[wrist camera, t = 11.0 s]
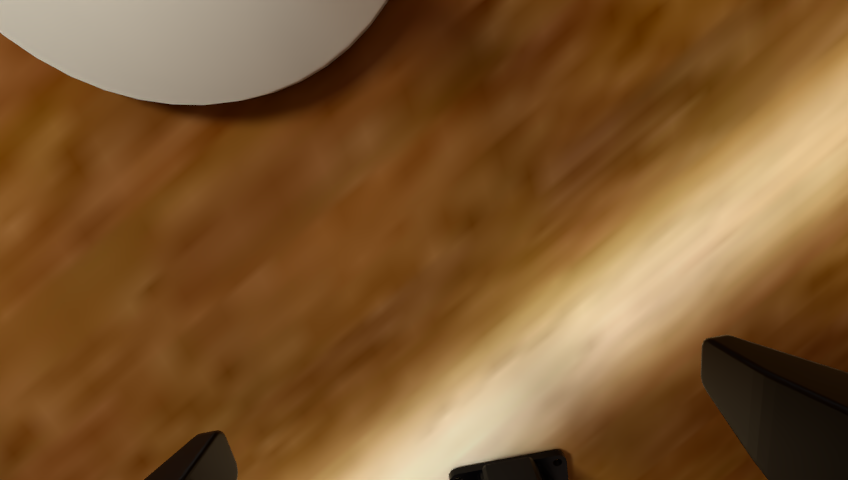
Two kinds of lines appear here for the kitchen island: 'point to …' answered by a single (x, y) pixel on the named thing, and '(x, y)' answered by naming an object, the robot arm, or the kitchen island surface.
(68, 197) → the kitchen island surface
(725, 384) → the robot arm
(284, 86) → the white plate
